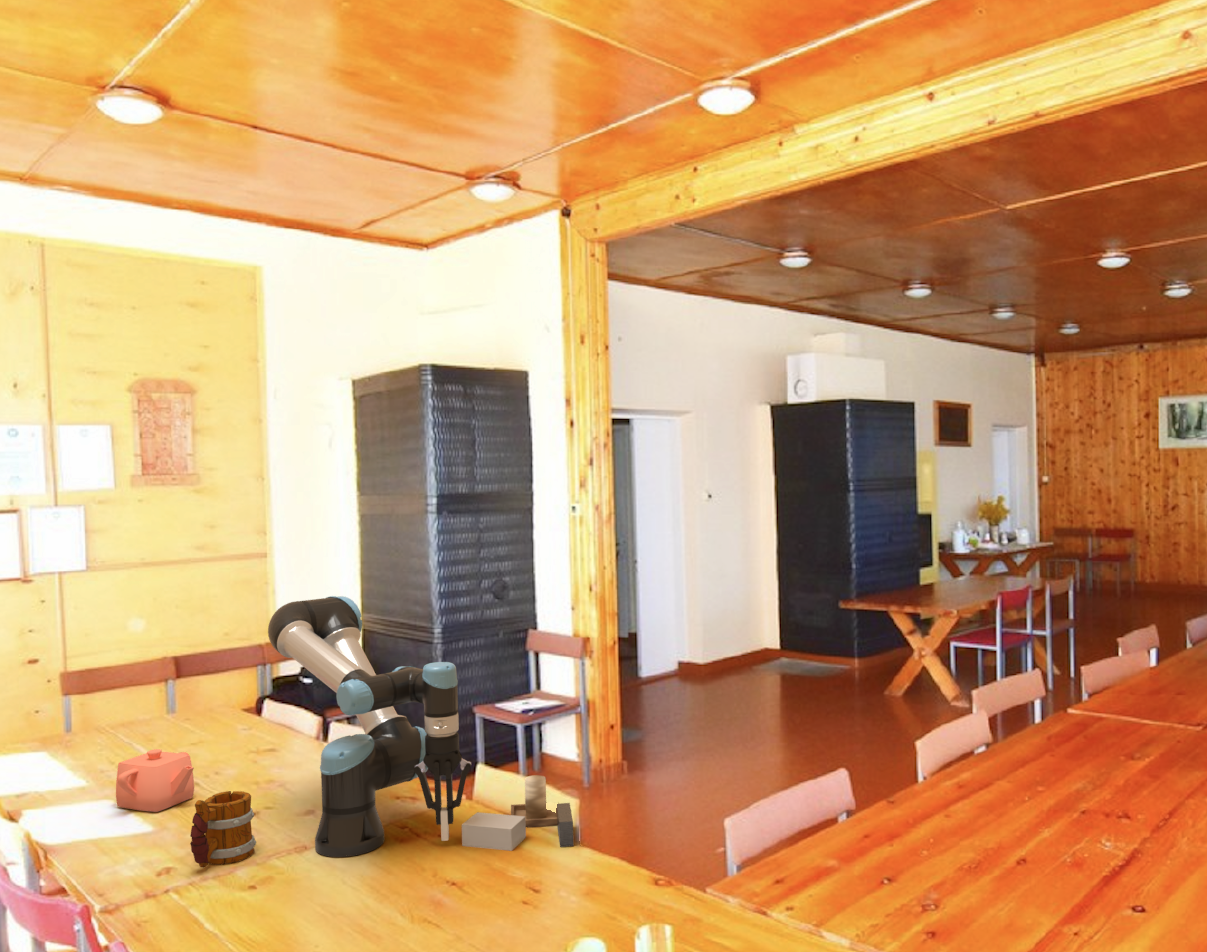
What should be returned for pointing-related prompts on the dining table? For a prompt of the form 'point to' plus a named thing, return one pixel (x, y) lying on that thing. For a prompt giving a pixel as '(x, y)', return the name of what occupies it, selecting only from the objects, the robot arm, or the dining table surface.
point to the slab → (493, 831)
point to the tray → (547, 821)
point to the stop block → (565, 825)
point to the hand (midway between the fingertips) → (445, 838)
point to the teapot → (154, 781)
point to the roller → (535, 797)
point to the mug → (222, 829)
